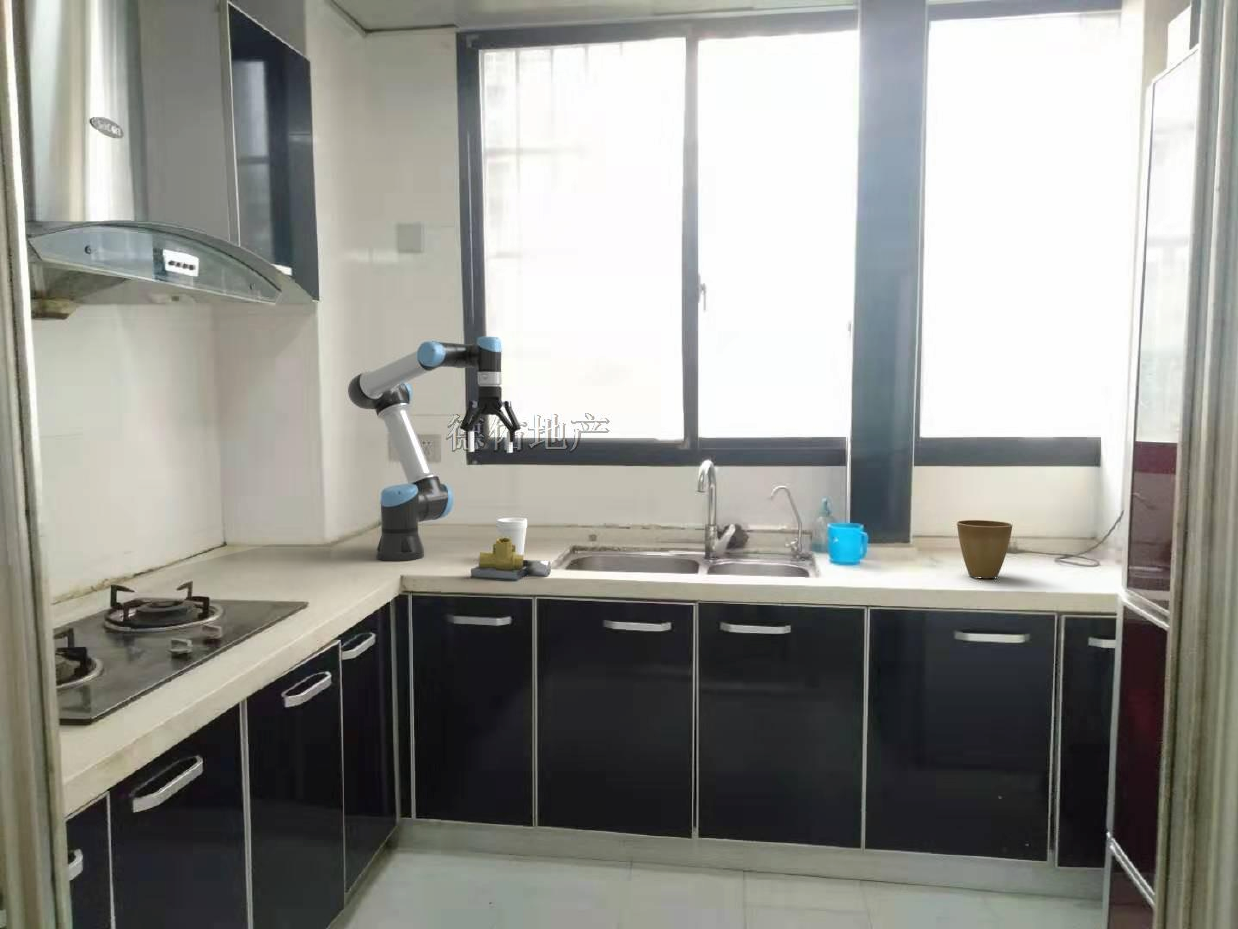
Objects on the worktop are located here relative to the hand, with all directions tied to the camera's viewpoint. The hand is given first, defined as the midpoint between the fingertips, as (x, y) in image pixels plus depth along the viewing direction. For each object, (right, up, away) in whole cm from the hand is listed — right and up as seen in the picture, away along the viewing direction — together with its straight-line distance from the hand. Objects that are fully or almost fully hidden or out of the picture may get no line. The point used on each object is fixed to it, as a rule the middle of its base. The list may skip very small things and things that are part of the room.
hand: (490, 452), depth 268 cm
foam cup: (+7, -35, +2) cm, 36 cm away
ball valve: (+6, -35, -20) cm, 41 cm away
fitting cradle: (+11, -36, -20) cm, 43 cm away
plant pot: (+148, -37, -23) cm, 154 cm away
